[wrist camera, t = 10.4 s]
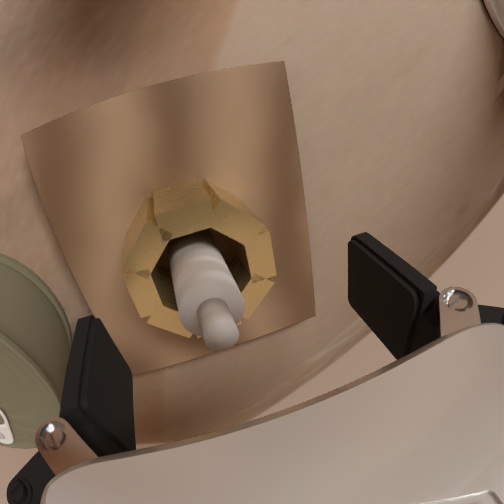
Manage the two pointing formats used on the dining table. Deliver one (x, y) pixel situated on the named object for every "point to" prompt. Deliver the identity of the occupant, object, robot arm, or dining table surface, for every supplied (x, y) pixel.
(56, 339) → the can
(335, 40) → the dining table surface
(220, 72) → the post block
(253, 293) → the ring
